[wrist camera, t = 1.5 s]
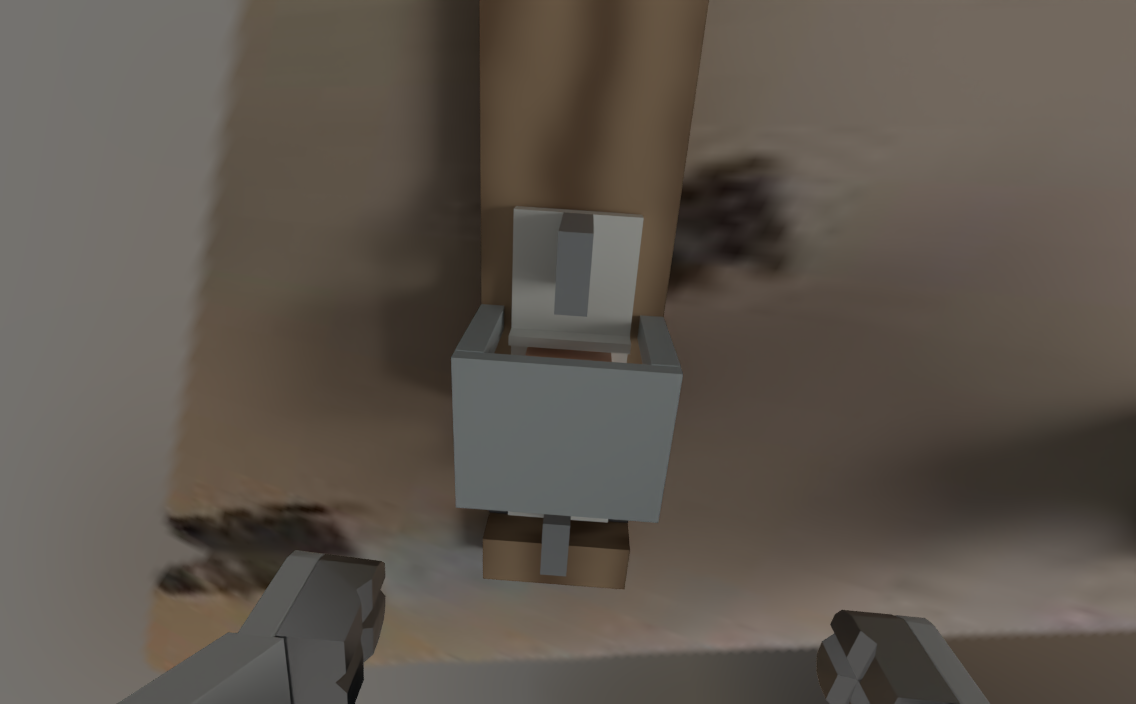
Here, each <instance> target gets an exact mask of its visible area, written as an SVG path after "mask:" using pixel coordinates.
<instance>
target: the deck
mask: <svg viewBox="0 0 1136 704" xmlns="http://www.w3.org/2000/svg"><path fill="white" fill-rule="evenodd" d="M708 3H709V0H479V17H480V174H481V304H488V305H502V306H504V330H503V333H502V335H501V338H500V340H499V343H498V345H497V348H496V350H495V352H494V353H495V354H508V355H511V346H510V345H508V339H509V333H510V331H511V325H512V271H513V217H514V208H515V207H516V206H524V207H538V208H553V209H567V210H582V211H596V212H611V213H625V214H640V215H643V217H644V220H643V228H642V237H641V245H640V254H639V262H638V271H637V279H636V288H635V296H634V305H633V313H632V322H631V330H630V341H631V350H630V354H628V356H627V363H633V364H642V359H641V354H640V349H639V344H638V339H637V337H638V329H639V321H640V315H642V316H656V317H664V310H665V303H666V296H667V289H668V282H669V275H670V268H671V261H672V254H673V247H674V240H675V233H676V226H677V219H678V212H679V205H680V198H681V191H682V184H683V177H684V170H685V163H686V156H687V150H688V143H689V136H690V129H691V122H692V115H693V108H694V101H695V94H696V87H697V80H698V73H699V66H700V59H701V52H702V45H703V38H704V31H705V24H706V17H707V10H708ZM489 512H490V513H489V517H488V521H487V525H486V529H485V533H484V536H483V578H484V579H496V580H509V581H522V582H535V583H548V584H561V585H574V586H587V587H600V588H612V589H624V588H625V581H626V574H627V567H628V560H629V553H630V546H629V534H628V520H615V519H608V523H606V522H593V521H580V520H570V535H569V547H568V559H567V572H566V576H554V575H541V574H540V567H541V549H542V530H543V518H541V517H527V516H514V515H508V511H497V510H489Z"/></svg>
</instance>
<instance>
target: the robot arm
mask: <svg viewBox="0 0 1136 704" xmlns="http://www.w3.org/2000/svg"><path fill="white" fill-rule="evenodd" d="M384 579H385V563H384V562H382V561H376V560H369V559H362V558H354V557H347V556H339V555H332V554H321V553H313V552H305V551H298V550H296V551H294V552H293V553H292V554H291V555H290V556H288V557H287V558H286V560H285V562H284V563H283V565H282V566H281V568H280V569H279V571H278V572H277V574H276V575H275V577H274V578H273V580H272V581H271V583H270V584H269V586H268V587H267V589H266V591H265V592H264V594H263V595H262V597H261V598H260V600H259V601H258V603H257V604H256V606H255V607H254V609H253V610H252V612H251V613H250V615H249V617H248V618H247V620H246V621H245V623H244V624H243V626H242V627H241V629H240V630H239V632H238V633H226V634H225V635H223V636H222V637H220V638H219V639H217V640H216V641H214V642H212V643H211V644H209V645H208V646H206V647H205V648H203V649H201V650H200V651H198V652H197V653H195V654H194V655H192V656H191V657H189V658H187V659H186V660H184V661H183V662H181V663H180V664H178V665H177V666H175V667H173V668H172V669H170V670H169V671H167V672H166V673H164V674H163V675H161V676H159V677H158V678H156V679H155V680H153V681H152V682H150V683H149V684H147V685H146V686H144V687H142V688H141V689H139V690H138V691H136V692H135V693H133V694H131V695H130V696H128V697H127V698H125V699H124V700H122V701H121V702H119V703H117V704H355V702H356V699H357V697H358V694H359V691H360V689H361V686H362V683H363V681H364V664H363V662H365V661H366V660H367V659H368V658H369V657H371V656H372V655H373V654H374V651H375V648H376V646H377V643H378V640H379V637H380V633H381V629H382V625H383V621H384V613H385V595H384V594H383V592H382V591H381V590H380V589H381V587H382V584H383V582H384ZM830 625H831V627H832V629H833V631H834V634H833V635H831V636H830V637H828V638H827V639H825V640H823V641H822V643H821V645H820V648H819V650H818V653H817V675H818V679H819V684H820V686H821V689H822V691H823V694H824V696H825V699H826V700H827V701H828V702H829V703H830V704H990V703H989V702H988V700H987V699H986V697H985V696H984V695H983V693H982V692H981V690H980V689H979V688H978V686H977V685H976V683H975V682H974V681H973V679H972V678H971V676H970V675H969V674H968V672H967V671H966V669H965V668H964V667H963V665H962V664H961V662H960V661H959V660H958V658H957V657H956V655H955V654H954V653H953V651H952V650H951V648H950V647H949V646H948V644H947V643H946V641H945V640H944V639H943V637H942V636H941V634H940V633H939V632H938V630H937V629H936V627H935V626H934V625H933V624H932V623H931V622H929V621H928V620H927V619H925V618H919V617H909V616H899V615H896V616H894V615H891V614H881V613H870V612H860V611H849V610H841V611H839V612H838V613H836V614H835V616H834V618H833V620H832V622H831V624H830Z"/></svg>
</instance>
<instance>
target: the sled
mask: <svg viewBox="0 0 1136 704" xmlns="http://www.w3.org/2000/svg"><path fill="white" fill-rule="evenodd" d="M643 220H644V217H643V215H640V214H625V213H611V212H596V211H582V210H567V209H553V208H538V207H524V206H516V207H515V208H514V217H513V271H512V325H511V331H510V333H509V339H508V345H510V346H511V355H522V356H525V354H526V351H527V347H538V348H551V349H565V350H579V351H593V352H607V353H611V358H612V362H619V363H627V356H628V354H630V350H631V341H630V330H631V322H632V313H633V305H634V296H635V288H636V279H637V271H638V262H639V254H640V245H641V237H642V228H643ZM508 515H514V516H527V517H541V518H543V530H542V549H541V567H540V574H541V575H554V576H566V572H567V559H568V547H569V535H570V520H580V521H593V522H606V523H608V519H602V518H589V517H576V516H563V515H549V514H536V513H523V512H510V511H508Z"/></svg>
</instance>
